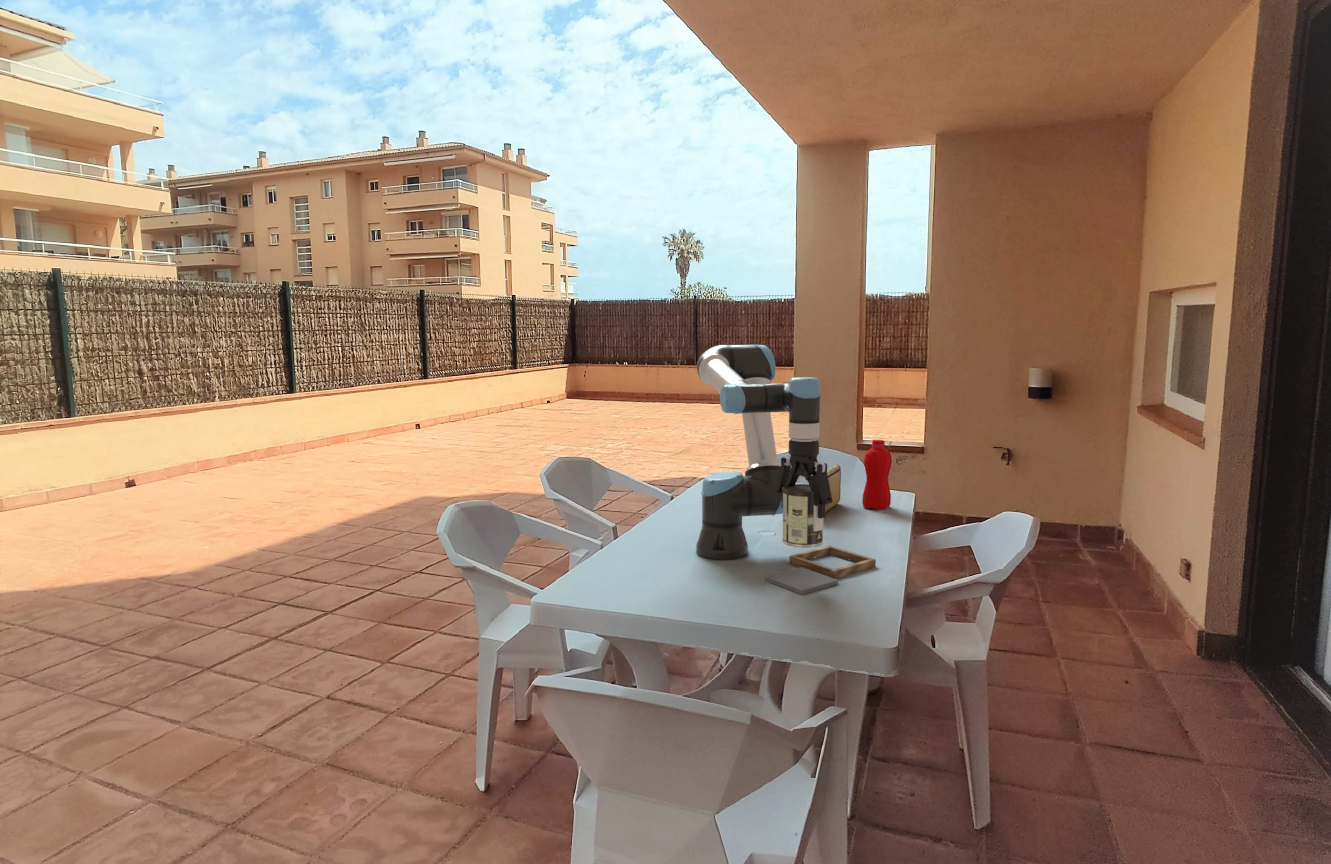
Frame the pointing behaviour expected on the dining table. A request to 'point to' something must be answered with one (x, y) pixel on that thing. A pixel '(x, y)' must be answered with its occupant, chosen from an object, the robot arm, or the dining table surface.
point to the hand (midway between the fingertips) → (802, 525)
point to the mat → (801, 580)
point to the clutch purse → (834, 485)
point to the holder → (833, 573)
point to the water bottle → (877, 476)
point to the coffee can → (799, 517)
